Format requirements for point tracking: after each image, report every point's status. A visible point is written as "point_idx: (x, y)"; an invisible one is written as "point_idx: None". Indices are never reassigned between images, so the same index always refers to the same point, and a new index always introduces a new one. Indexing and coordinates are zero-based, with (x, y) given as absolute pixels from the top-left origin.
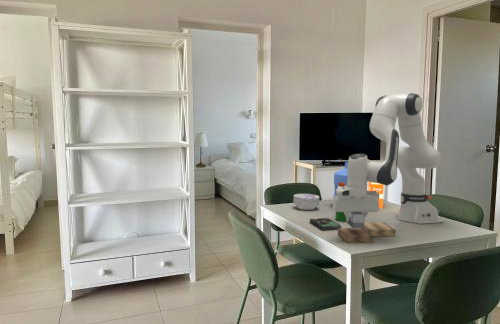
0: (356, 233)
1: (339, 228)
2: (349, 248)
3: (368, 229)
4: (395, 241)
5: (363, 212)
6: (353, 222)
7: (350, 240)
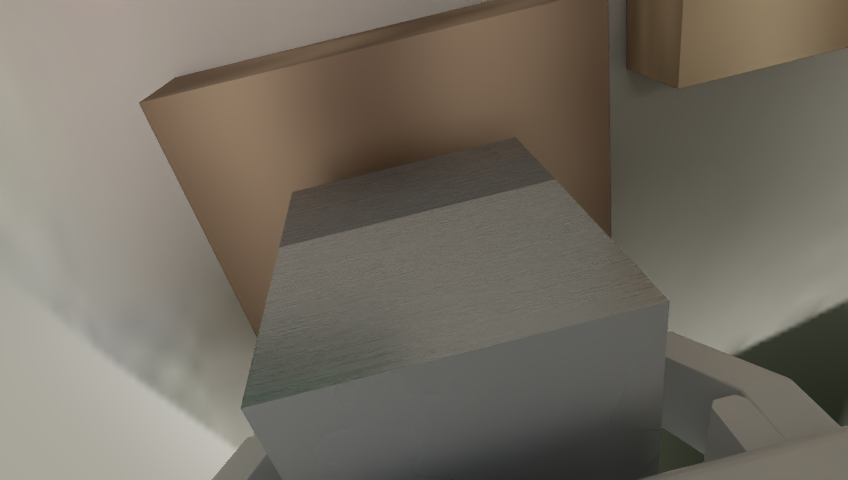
0: None
1: (171, 116)
2: None
3: (674, 16)
4: (827, 204)
5: (720, 452)
6: None
7: None
